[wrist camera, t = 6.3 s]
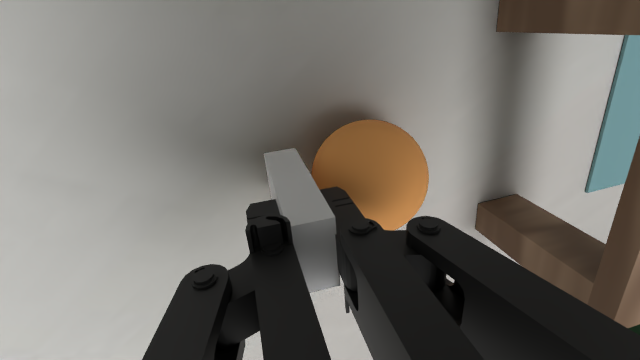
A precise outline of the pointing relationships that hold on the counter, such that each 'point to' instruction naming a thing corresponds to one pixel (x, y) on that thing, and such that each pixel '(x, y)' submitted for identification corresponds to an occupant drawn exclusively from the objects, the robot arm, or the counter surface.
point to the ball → (375, 170)
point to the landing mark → (619, 122)
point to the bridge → (545, 228)
